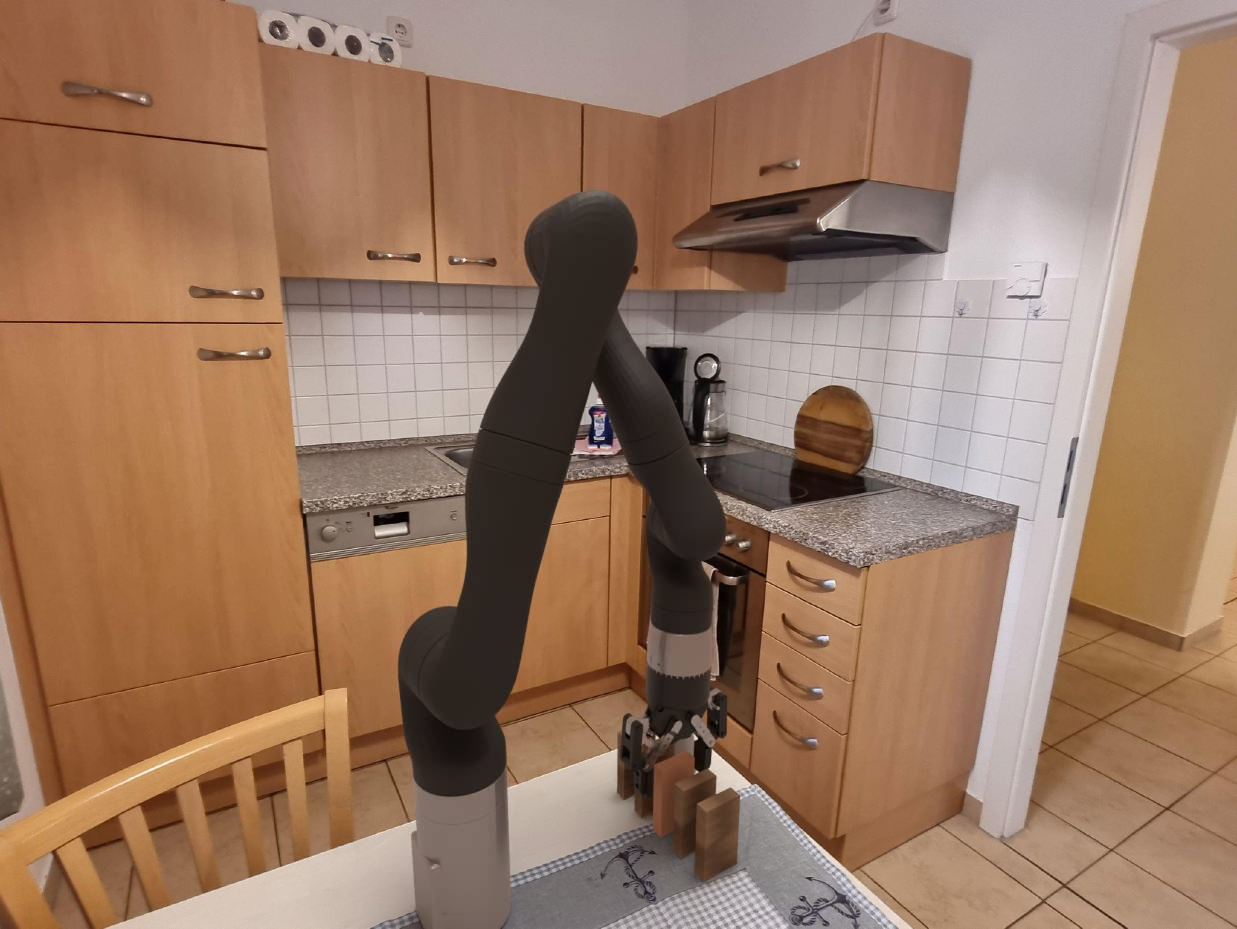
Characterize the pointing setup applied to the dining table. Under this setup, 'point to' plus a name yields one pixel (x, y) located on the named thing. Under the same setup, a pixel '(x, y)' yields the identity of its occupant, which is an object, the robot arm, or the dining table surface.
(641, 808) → the domino
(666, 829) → the domino
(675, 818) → the domino
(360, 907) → the dining table surface
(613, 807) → the dining table surface
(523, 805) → the dining table surface
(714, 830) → the domino
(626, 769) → the domino
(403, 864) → the dining table surface
